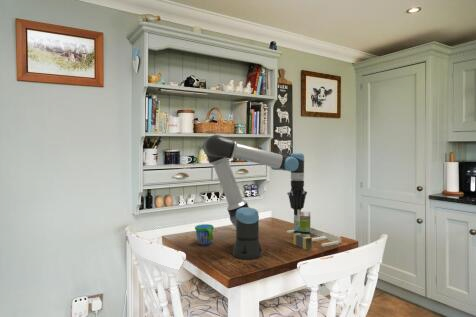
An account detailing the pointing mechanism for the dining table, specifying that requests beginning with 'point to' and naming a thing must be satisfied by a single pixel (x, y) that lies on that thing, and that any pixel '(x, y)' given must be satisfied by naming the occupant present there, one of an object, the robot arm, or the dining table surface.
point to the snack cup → (204, 233)
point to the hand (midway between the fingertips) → (297, 220)
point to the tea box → (303, 224)
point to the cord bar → (302, 241)
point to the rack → (323, 236)
